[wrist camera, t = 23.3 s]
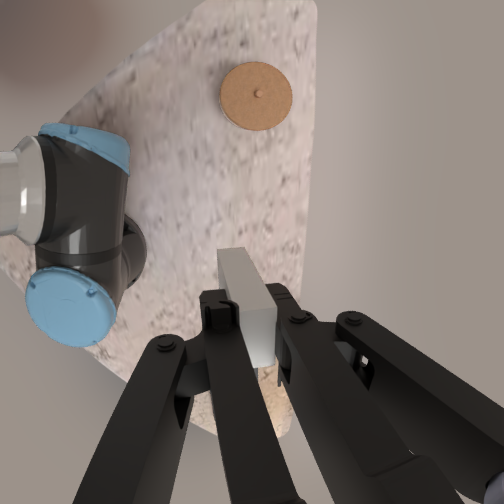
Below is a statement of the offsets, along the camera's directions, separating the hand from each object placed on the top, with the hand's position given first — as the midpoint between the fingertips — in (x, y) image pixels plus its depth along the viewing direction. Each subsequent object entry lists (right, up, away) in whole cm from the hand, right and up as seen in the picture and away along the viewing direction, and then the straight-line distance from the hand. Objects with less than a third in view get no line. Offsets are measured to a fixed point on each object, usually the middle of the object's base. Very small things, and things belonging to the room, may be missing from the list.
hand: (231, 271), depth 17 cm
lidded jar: (0, +26, +30) cm, 40 cm away
